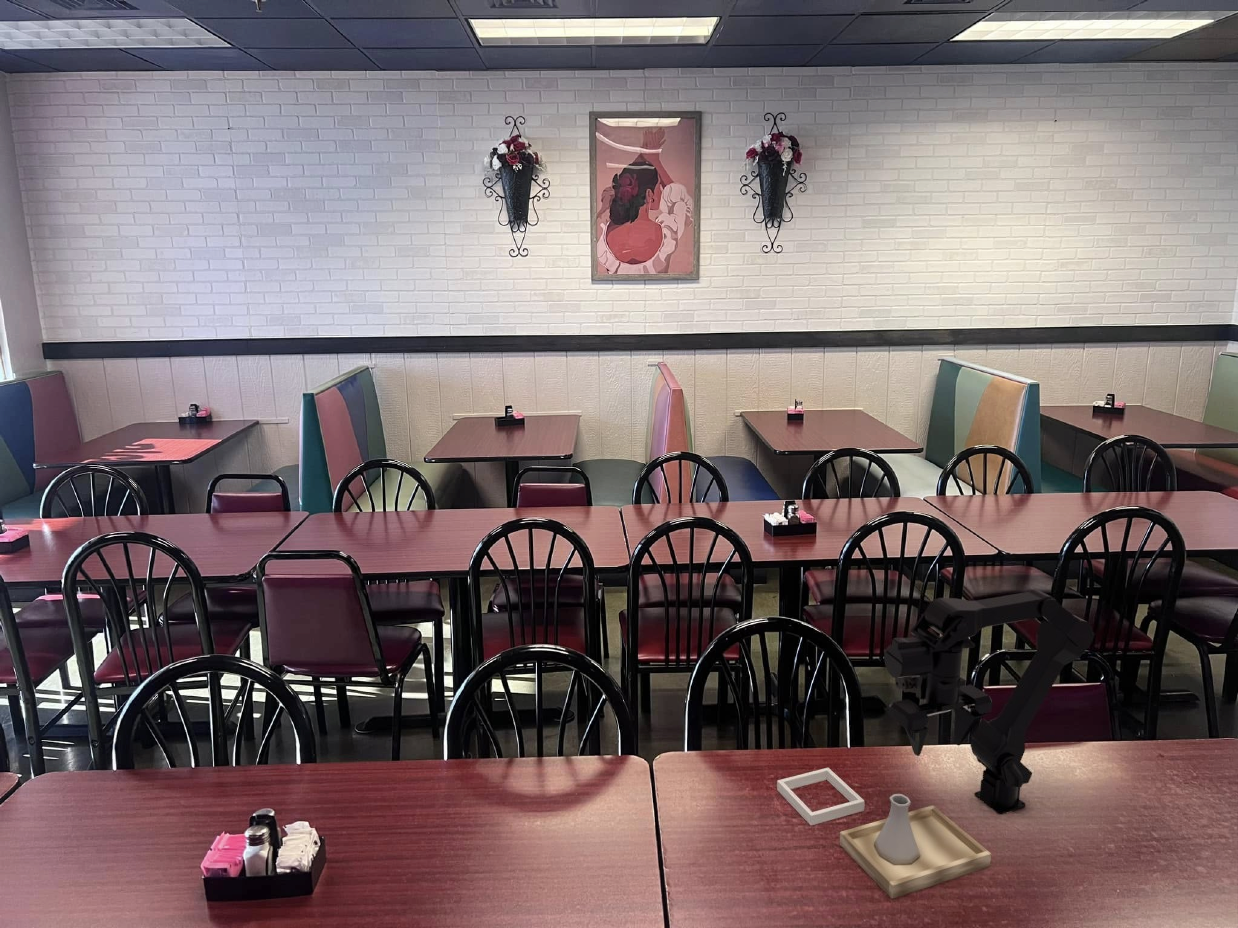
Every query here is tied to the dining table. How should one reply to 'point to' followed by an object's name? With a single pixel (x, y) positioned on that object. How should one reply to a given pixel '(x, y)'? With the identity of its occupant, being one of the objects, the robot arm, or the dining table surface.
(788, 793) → the white square frame
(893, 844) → the flask
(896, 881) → the serving tray
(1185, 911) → the dining table surface
